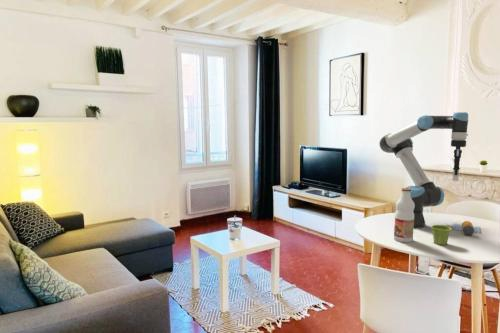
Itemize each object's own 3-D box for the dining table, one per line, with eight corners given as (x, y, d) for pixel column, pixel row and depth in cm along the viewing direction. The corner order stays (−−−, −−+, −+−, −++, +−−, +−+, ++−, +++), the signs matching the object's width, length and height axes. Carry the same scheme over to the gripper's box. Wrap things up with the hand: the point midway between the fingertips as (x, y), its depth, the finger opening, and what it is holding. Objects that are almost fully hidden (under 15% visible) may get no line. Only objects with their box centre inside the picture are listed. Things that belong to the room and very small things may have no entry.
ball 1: (466, 219, 216) (465, 218, 220) (459, 226, 217) (459, 226, 222) (475, 225, 213) (474, 224, 218) (468, 232, 214) (468, 232, 219)
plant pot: (441, 247, 188) (442, 230, 187) (426, 241, 196) (427, 225, 195) (454, 245, 191) (455, 228, 190) (438, 239, 200) (440, 224, 199)
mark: (481, 233, 212) (481, 233, 212) (453, 229, 219) (453, 229, 219) (479, 227, 224) (479, 227, 224) (453, 223, 231) (453, 223, 231)
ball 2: (467, 221, 210) (466, 229, 213) (461, 226, 208) (460, 233, 211) (477, 227, 205) (475, 234, 208) (470, 231, 204) (469, 238, 207)
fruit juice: (412, 243, 193) (416, 190, 189) (393, 241, 196) (396, 189, 193) (412, 238, 201) (416, 187, 198) (394, 236, 205) (397, 186, 201)
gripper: (466, 140, 203) (463, 182, 206) (466, 139, 215) (462, 179, 218) (451, 140, 207) (447, 181, 210) (451, 139, 218) (448, 178, 221)
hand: (455, 180), depth 214 cm, fingers closed
